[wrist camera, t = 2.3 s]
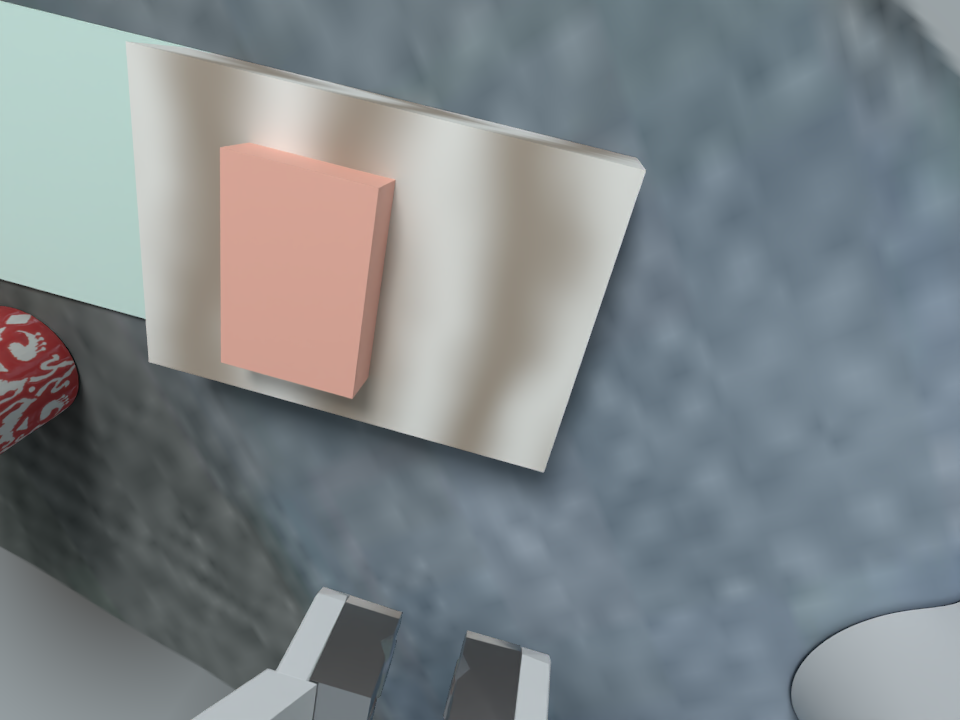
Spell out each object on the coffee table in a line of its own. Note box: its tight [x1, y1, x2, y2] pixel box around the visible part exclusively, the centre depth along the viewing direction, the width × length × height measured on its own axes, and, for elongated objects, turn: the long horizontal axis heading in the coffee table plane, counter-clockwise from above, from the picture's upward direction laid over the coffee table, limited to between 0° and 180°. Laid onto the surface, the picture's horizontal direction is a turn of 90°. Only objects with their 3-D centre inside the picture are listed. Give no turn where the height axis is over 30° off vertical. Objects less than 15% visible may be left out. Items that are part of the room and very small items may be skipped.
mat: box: [0, 1, 210, 319], centre depth 28 cm, size 14×14×1 cm
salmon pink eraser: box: [220, 143, 395, 399], centre depth 23 cm, size 6×9×2 cm, turn 168°
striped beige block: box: [126, 41, 646, 472], centre depth 26 cm, size 20×14×4 cm
